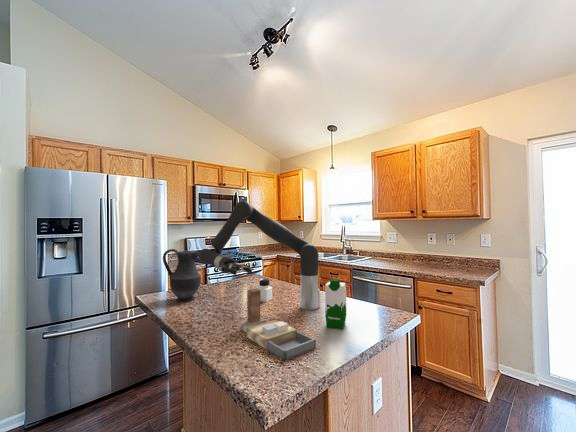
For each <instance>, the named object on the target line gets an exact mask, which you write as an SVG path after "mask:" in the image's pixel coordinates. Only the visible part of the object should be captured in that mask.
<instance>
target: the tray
mask: <svg viewBox="0 0 576 432" xmlns="http://www.w3.org/2000/svg"><path fill="white" fill-rule="evenodd" d="M316 343H317V341H316V338H313V337H311V336H309V335H306V334H305V333H303V332H301V331H299V330H297V332H296V339H293V340H290V341H288V342H285V343H282V344H279V345H276V344H274V343H272V342H271V341H267V349H266V350H267V351H268V352H270V353H271V354H273V355H274V356H276V357H278V358H279V359H280V360H282V361H284V362H286V361H288V360H290V359H293V358H296V357H298V356H300V355H302V354H305V353H307V352H310V351H312V349H313V350H315V349H316V348H317V347H316V346H317V345H316Z"/></svg>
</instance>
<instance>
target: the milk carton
mask: <svg viewBox="0 0 576 432" xmlns="http://www.w3.org/2000/svg"><path fill="white" fill-rule="evenodd" d="M324 288H325V289H324V295H325V296H324V297H325V299H324V302H325V305H324V306H325V308H324V311H325V313H324V314H325V316H324V317H325V325H326V326H325V327H326V328H327V329H328V328H329V329H335V328H337V330H344V328H345V325H346V319H347V288H346V282H341V281H340V279H337V278H331V279H329V281H328V282H326V283H325V286H324Z"/></svg>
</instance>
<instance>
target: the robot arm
mask: <svg viewBox="0 0 576 432" xmlns="http://www.w3.org/2000/svg"><path fill="white" fill-rule="evenodd" d="M243 220H245V221H247V222H250V223H251V224H253V225H255V226H256V227H257V228H258V229H259V230H260V231H261V232H262V233H264V234H265V235H266V236H268V237H269V238H271V239H272V240H273V241H275V242H277V243H279V244H280V245H283V246H286V247H288V248H290V250H293V251H294V252H295V253H296V254H298V255H299V257H300V260H299V261H300V262H299V263H300V268H299V269H300V308H301V309H303V310H307V311H308V310H309V311H312V310H313V311H314V310H317V309H319V308H320V307H321V301H320V300H321V296H320V295H321V293H320V292H321V291H320V288H319V252H318V248H317V247H316V246H315V245H314V244H312V243H310V242H307V241H305V240H304V239H302V238H301V237H298V235H296V234H294V232H292V230H290V229H289V228H287V227H286V226H285V225H284V224H282V223H280V222H279V221H277V220H275V219H273V218H271V217H269V216H268V215H265V214H263V213H262V212H261V211H259V210H258V209H256V208H255V207H254V206H253V205H252V204H251V203H249V202H247V201H246V200H245V201H244V200H240V201H238V202H236V204H235V205H234V207H233V209H232V211H231V213H230V215H229V217H228V218H227V220H226V222H225V223H224V224H223V226H222V227H221V228H220V230H219V231H218V233H216V236H215V237H214V238H213V239H212V240H211V243H210V245H211V246H212V247H213V249H214V250H211V249H209V248H203V249H201V250H200V251H198V252H199V255H198V259H199V260H200V262H203V263H205V264H208V265H210V266H212V267H214V268H216V269H217V270H218V271H220V272H221V273H223V274H232V275H234V276H236V275H237V273H243V272H244V273H247V274H250V275H251V274H252V273H253V269H252V268H251V266H250V265H249V264H245V263H241V264H240V263H238V262H237V261H236V260H235V259H234V258H232V257H229V256H227V255H224V254H222V251H223V250H224V248H225V247H226V245H228V243H229V241H230V240H231V238H232V236H233V234H234V232H235V231H236V229H237V227H238V226H239V225H240V223H242V221H243Z"/></svg>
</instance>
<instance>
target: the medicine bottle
mask: <svg viewBox="0 0 576 432" xmlns="http://www.w3.org/2000/svg"><path fill="white" fill-rule="evenodd" d="M255 289H258V290H260V302H264V303H268V302H269V301H272V300H273V287H272V286H270V279H268V278H261V279H259V280H258V287H256V288H255Z"/></svg>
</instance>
